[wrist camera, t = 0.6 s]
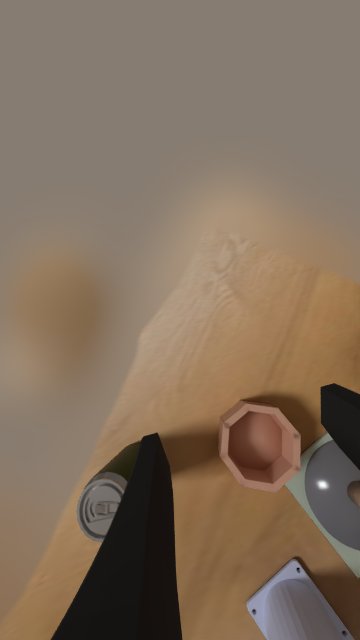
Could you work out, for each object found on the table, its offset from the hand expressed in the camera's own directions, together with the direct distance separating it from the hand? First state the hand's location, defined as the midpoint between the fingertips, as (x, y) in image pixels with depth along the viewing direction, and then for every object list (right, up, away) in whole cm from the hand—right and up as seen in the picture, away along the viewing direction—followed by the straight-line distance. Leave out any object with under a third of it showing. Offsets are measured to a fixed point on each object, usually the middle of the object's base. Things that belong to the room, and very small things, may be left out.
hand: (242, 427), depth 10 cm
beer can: (-9, -16, +23) cm, 29 cm away
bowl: (+7, -12, +22) cm, 26 cm away
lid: (+19, -17, +19) cm, 32 cm away
